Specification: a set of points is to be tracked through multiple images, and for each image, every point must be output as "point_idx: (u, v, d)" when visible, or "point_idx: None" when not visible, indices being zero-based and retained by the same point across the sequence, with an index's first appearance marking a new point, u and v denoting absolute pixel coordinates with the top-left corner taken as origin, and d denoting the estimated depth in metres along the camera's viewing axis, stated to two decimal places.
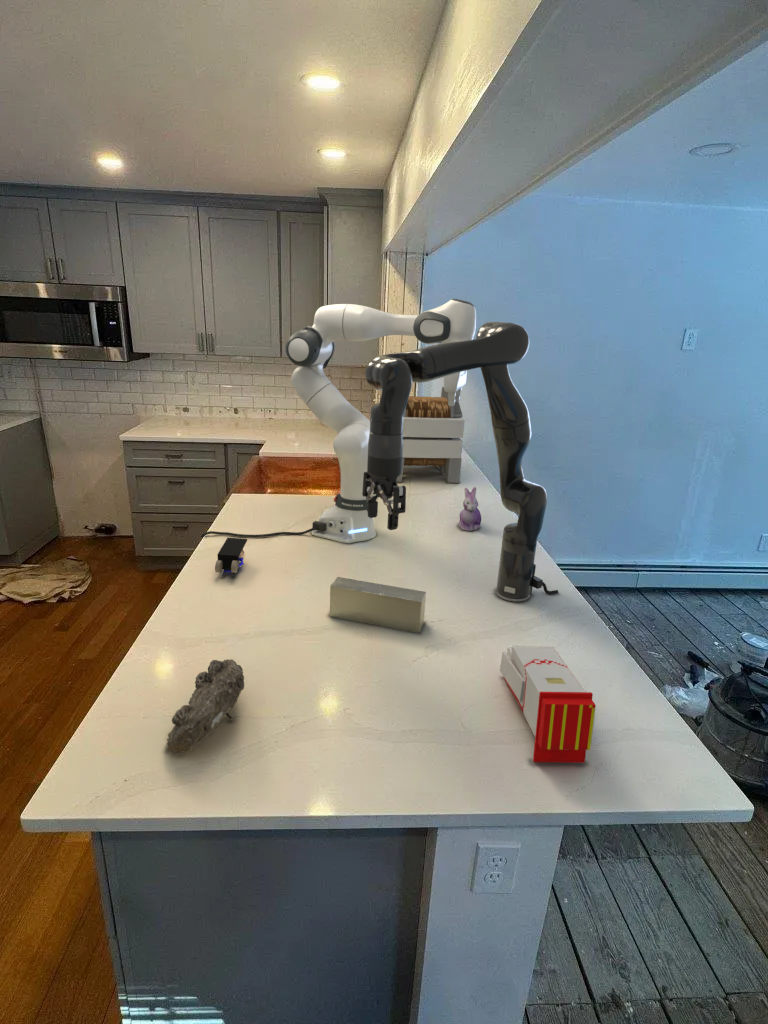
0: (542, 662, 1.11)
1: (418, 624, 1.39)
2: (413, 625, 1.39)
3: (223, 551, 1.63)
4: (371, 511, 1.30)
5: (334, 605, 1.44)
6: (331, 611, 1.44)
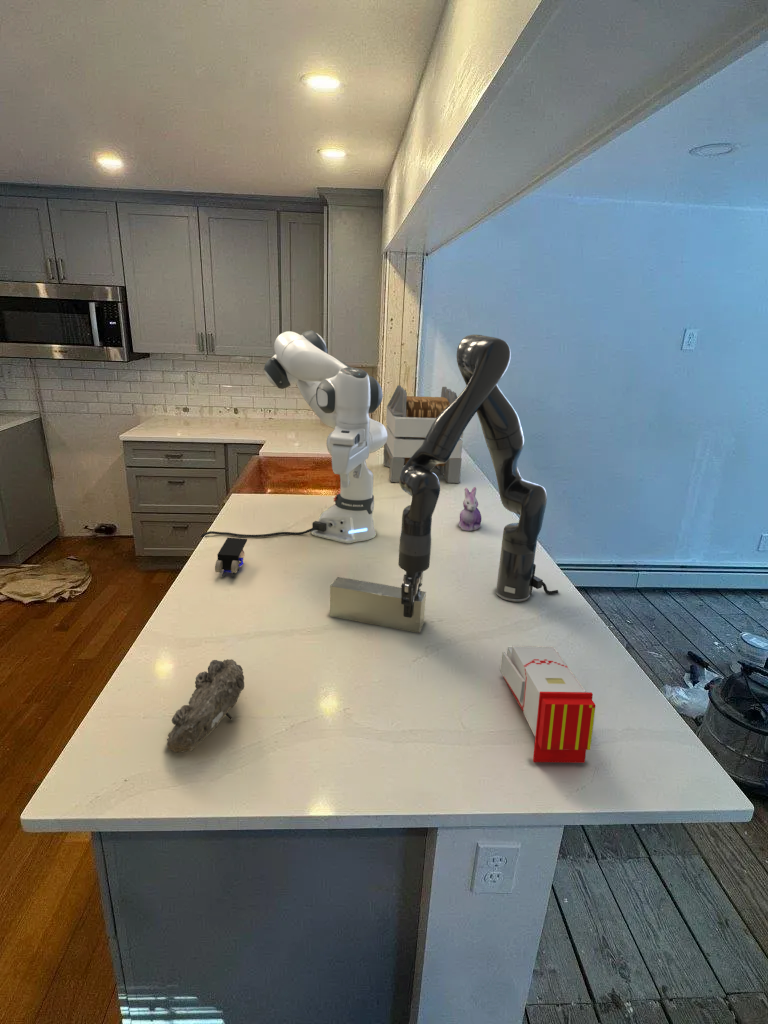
0: (542, 662, 1.11)
1: (418, 624, 1.39)
2: (413, 625, 1.39)
3: (223, 551, 1.63)
4: None
5: (334, 605, 1.44)
6: (331, 611, 1.44)
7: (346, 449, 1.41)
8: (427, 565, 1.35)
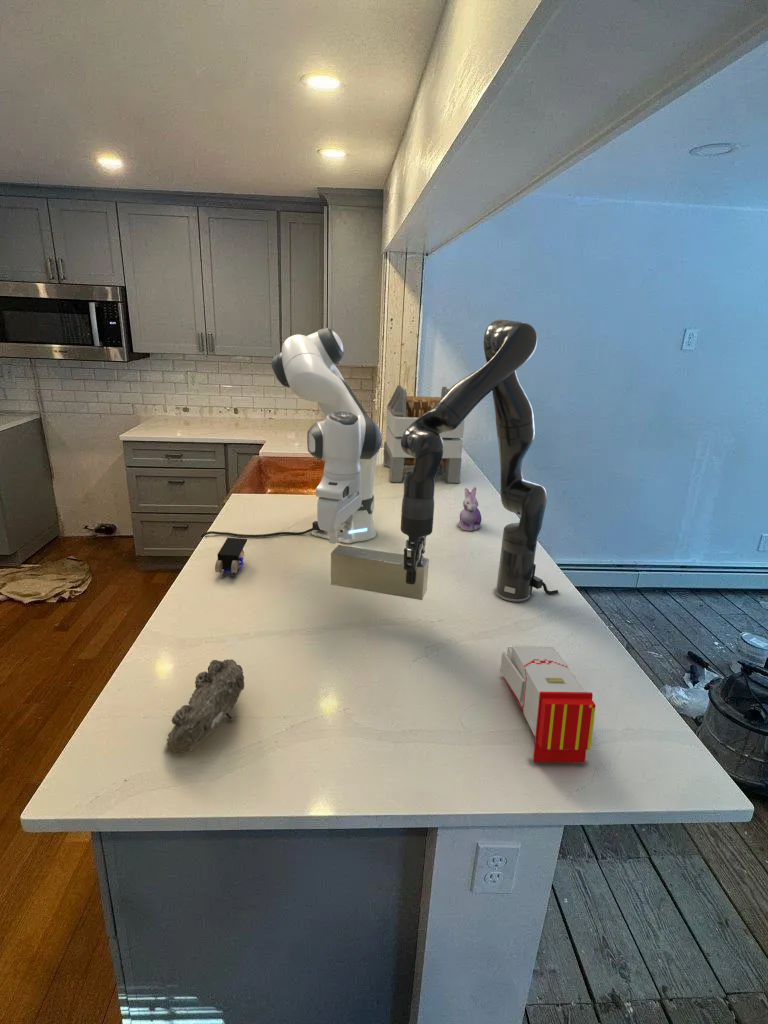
0: (542, 662, 1.11)
1: (421, 591, 1.36)
2: (416, 592, 1.36)
3: (223, 551, 1.63)
4: None
5: (335, 573, 1.41)
6: (332, 579, 1.41)
7: (333, 504, 1.27)
8: (430, 530, 1.32)
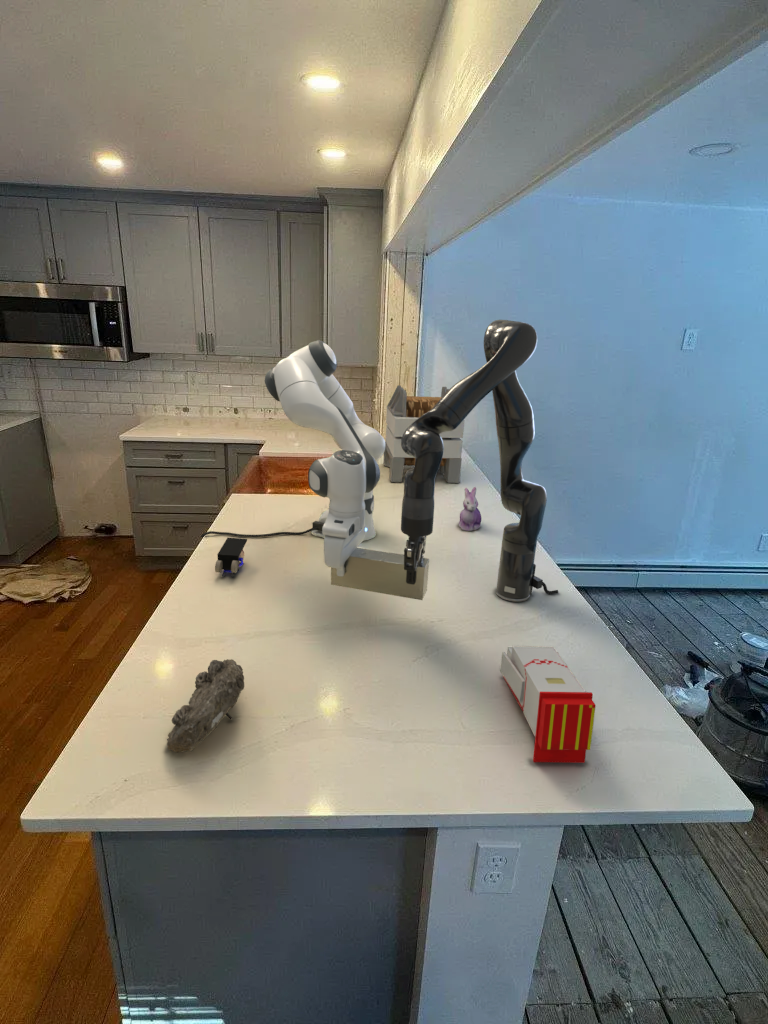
0: (542, 662, 1.11)
1: (421, 591, 1.36)
2: (416, 592, 1.36)
3: (223, 551, 1.63)
4: None
5: (335, 573, 1.41)
6: (332, 579, 1.41)
7: (340, 542, 1.30)
8: (430, 530, 1.32)
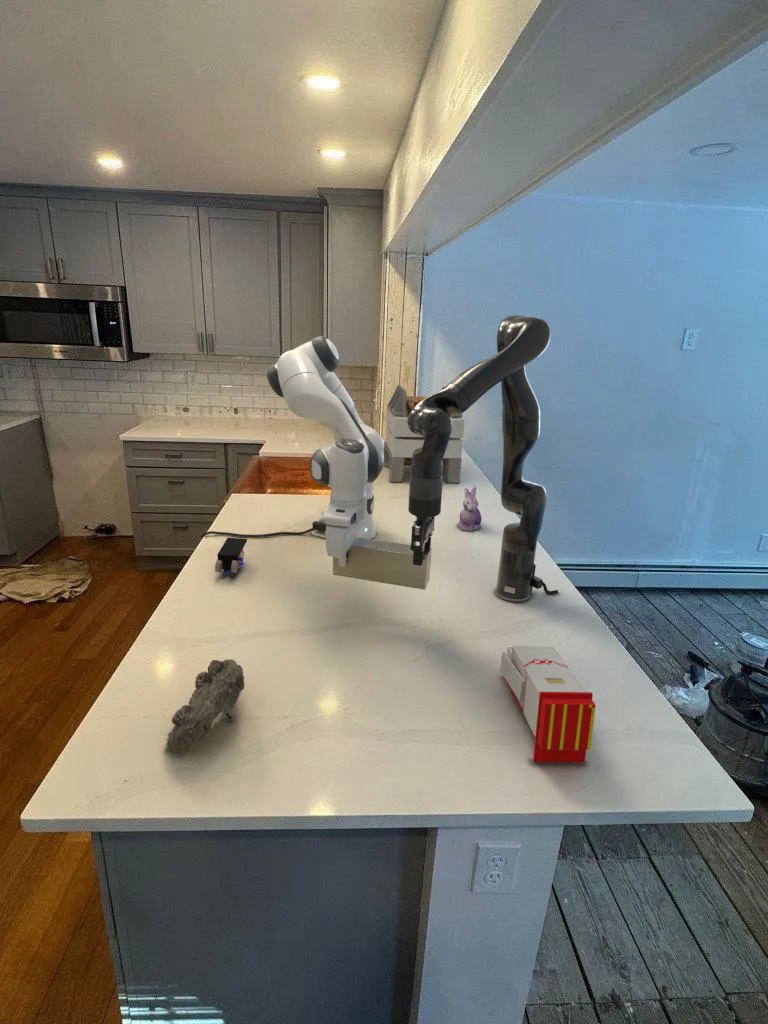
0: (542, 662, 1.11)
1: (424, 580, 1.35)
2: (418, 581, 1.35)
3: (223, 551, 1.63)
4: (423, 544, 1.39)
5: (337, 563, 1.40)
6: (334, 569, 1.40)
7: (342, 531, 1.29)
8: (438, 510, 1.29)
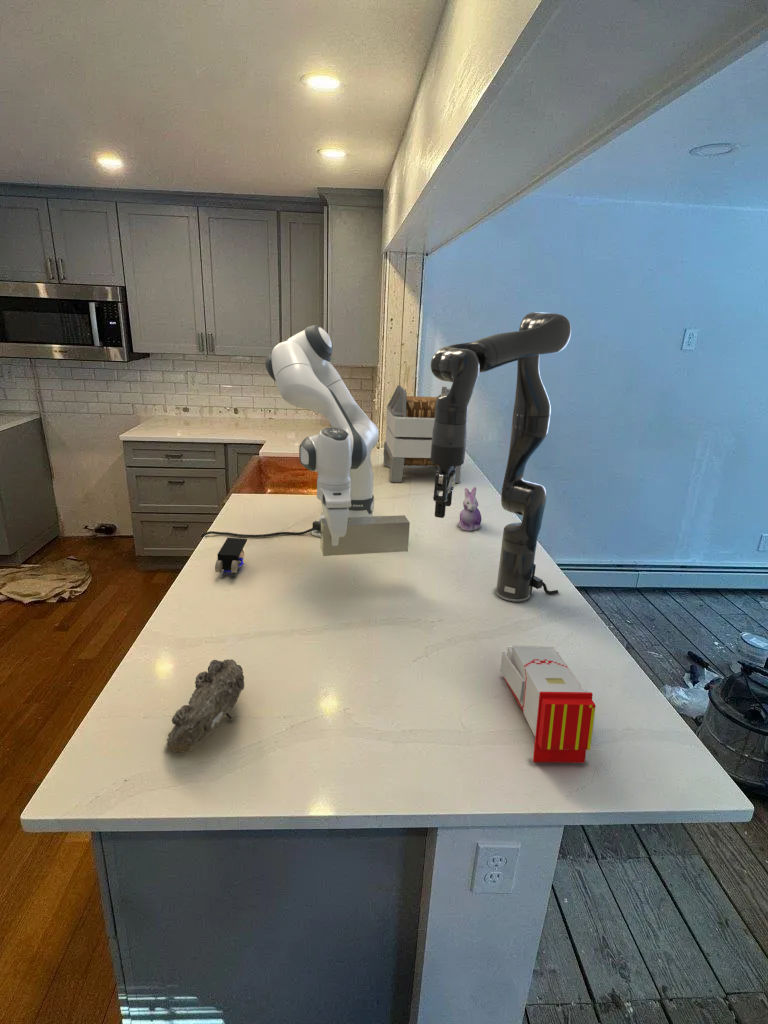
0: (542, 662, 1.11)
1: (407, 543, 1.56)
2: (402, 545, 1.55)
3: (223, 551, 1.63)
4: None
5: (327, 544, 1.50)
6: (324, 551, 1.51)
7: (345, 512, 1.41)
8: (462, 459, 1.24)
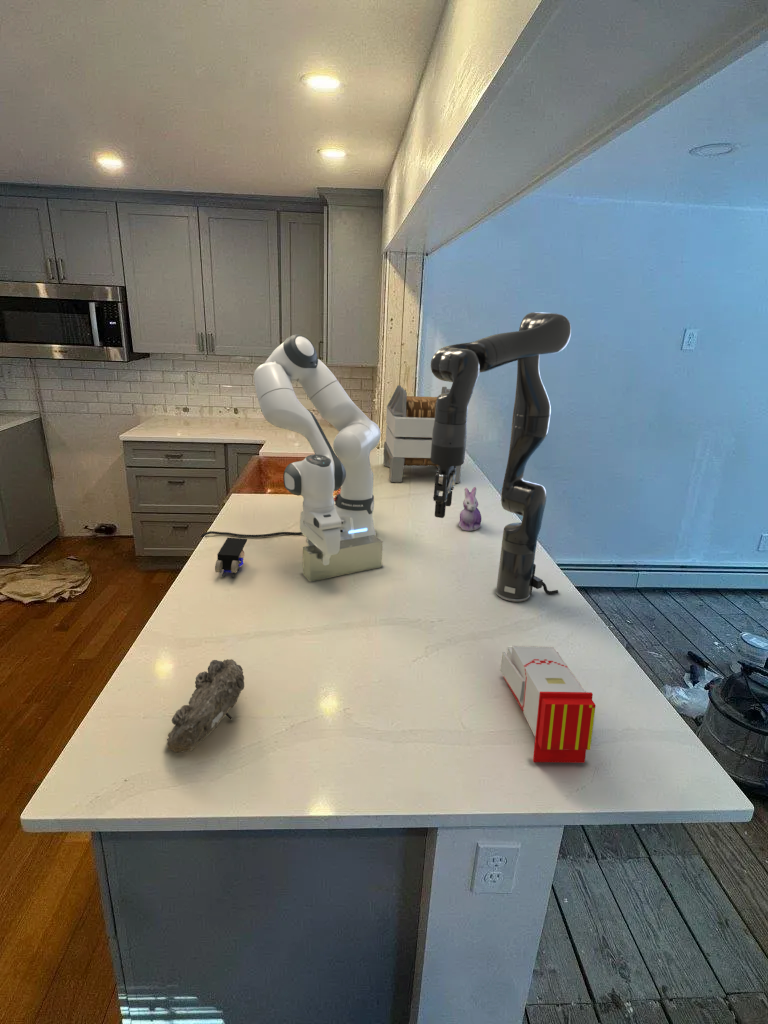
0: (542, 662, 1.11)
1: (380, 560, 1.73)
2: (377, 562, 1.72)
3: (223, 551, 1.63)
4: None
5: (313, 570, 1.62)
6: (311, 576, 1.62)
7: (337, 531, 1.54)
8: (462, 459, 1.24)
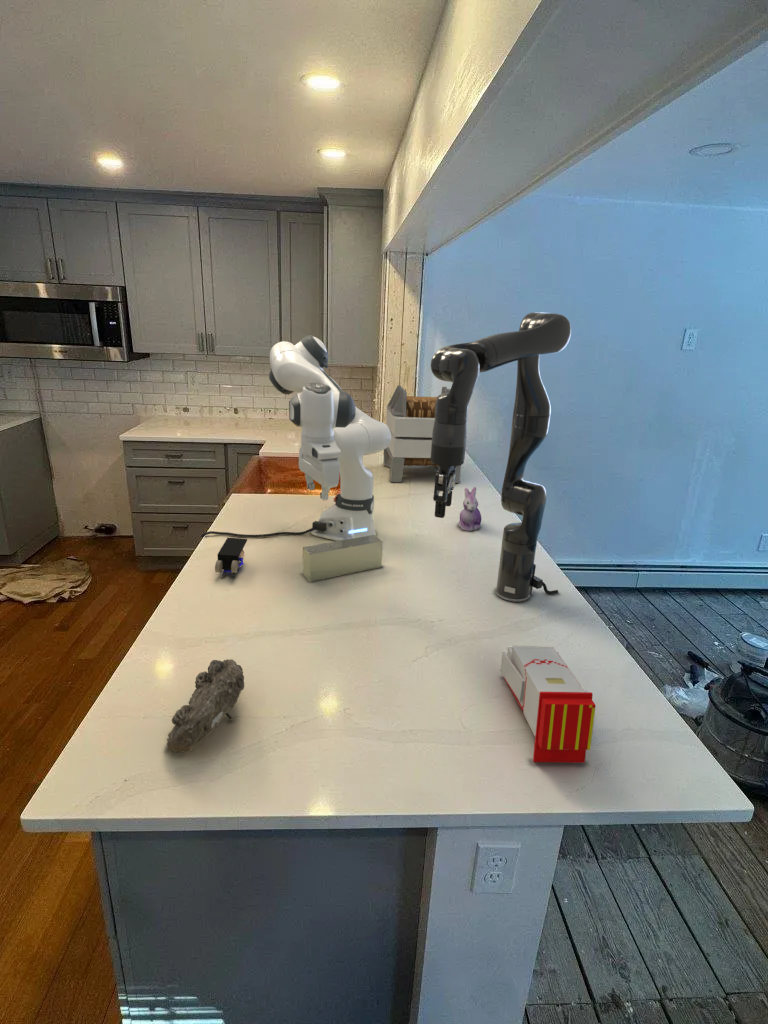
0: (542, 662, 1.11)
1: (380, 560, 1.73)
2: (377, 562, 1.72)
3: (223, 551, 1.63)
4: None
5: (313, 570, 1.62)
6: (311, 576, 1.62)
7: (336, 462, 1.47)
8: (462, 459, 1.24)
